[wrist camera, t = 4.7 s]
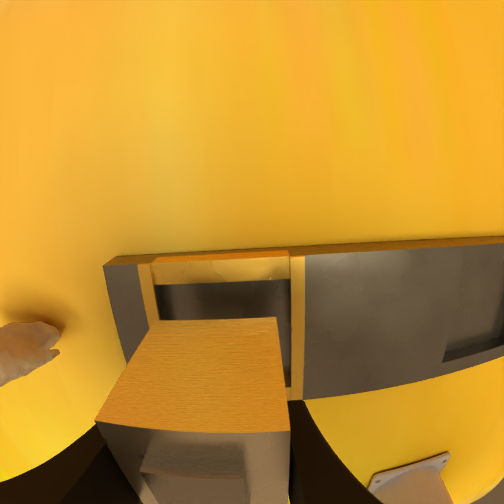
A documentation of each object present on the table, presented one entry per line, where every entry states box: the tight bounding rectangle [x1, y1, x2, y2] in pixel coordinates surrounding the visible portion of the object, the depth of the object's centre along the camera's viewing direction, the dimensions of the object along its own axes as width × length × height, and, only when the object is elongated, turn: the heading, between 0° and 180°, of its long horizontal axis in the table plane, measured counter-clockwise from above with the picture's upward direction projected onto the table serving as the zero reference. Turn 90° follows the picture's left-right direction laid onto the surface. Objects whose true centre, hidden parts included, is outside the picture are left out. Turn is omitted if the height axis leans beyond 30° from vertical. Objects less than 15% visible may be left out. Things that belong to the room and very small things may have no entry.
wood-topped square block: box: [94, 317, 291, 504], centre depth 9 cm, size 4×4×6 cm
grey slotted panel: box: [103, 236, 504, 401], centre depth 14 cm, size 8×26×2 cm, turn 93°
